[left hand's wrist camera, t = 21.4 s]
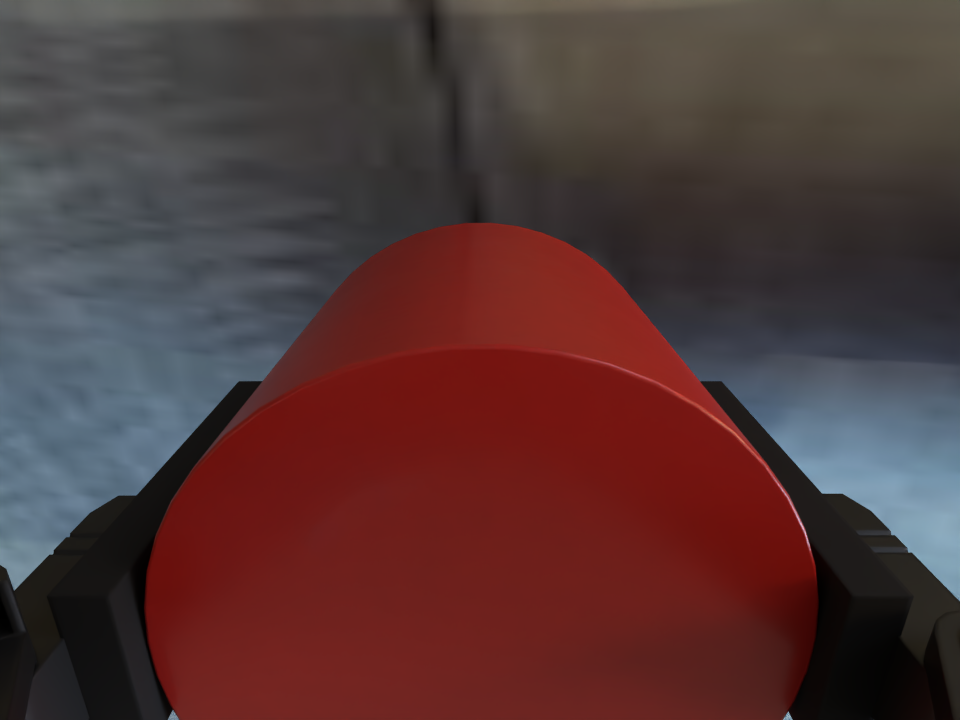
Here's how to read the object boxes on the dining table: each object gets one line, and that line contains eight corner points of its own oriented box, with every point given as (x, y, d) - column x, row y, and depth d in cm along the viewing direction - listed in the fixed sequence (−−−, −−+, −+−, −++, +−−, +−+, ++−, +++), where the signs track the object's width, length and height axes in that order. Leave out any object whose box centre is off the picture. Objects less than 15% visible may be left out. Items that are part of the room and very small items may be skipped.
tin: (496, 136, 14) (518, 164, 6) (727, 412, 16) (943, 675, 9) (229, 387, 16) (3, 637, 8) (468, 596, 18) (461, 933, 11)
